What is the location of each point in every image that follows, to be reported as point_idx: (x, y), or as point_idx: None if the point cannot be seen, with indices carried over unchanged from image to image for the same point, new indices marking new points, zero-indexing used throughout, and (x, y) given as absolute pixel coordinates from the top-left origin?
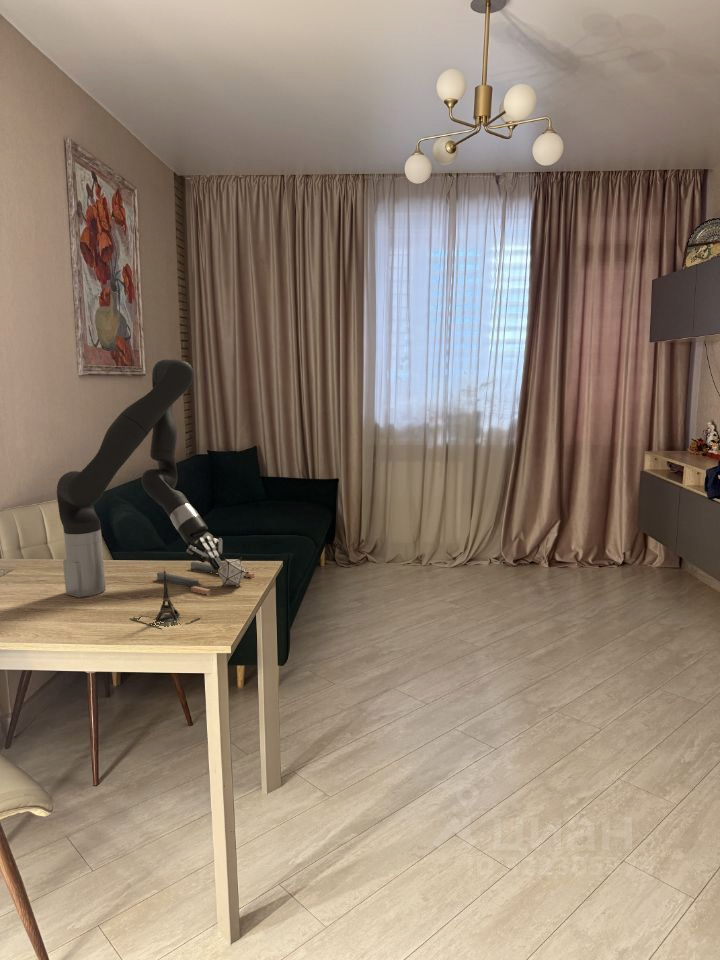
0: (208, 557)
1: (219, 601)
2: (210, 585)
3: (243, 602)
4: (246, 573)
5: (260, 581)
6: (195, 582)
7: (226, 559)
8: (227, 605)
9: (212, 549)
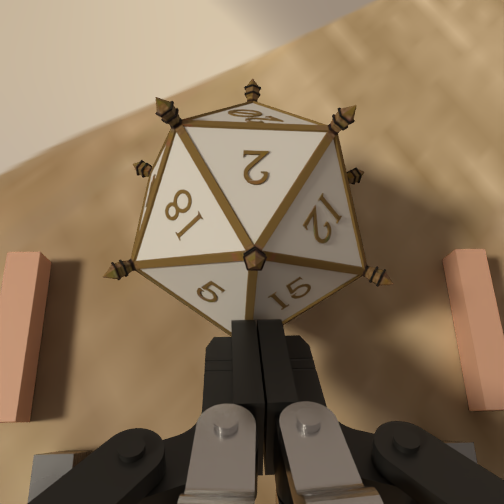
0: (359, 449)
1: (481, 129)
2: (328, 401)
3: (408, 31)
4: (33, 301)
5: (85, 170)
6: (464, 443)
7: (251, 236)
8: (487, 62)
9: (252, 502)
